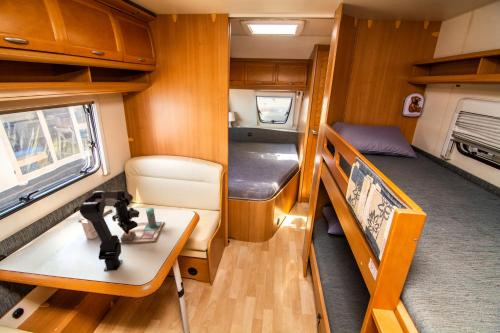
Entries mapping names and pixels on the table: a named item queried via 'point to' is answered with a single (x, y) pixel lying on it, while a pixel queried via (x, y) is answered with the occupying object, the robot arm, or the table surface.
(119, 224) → the robot arm
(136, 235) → the colouring board
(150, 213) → the teal rubber stamp
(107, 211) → the washcloth
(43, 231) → the table surface
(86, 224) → the ink cartridge box
